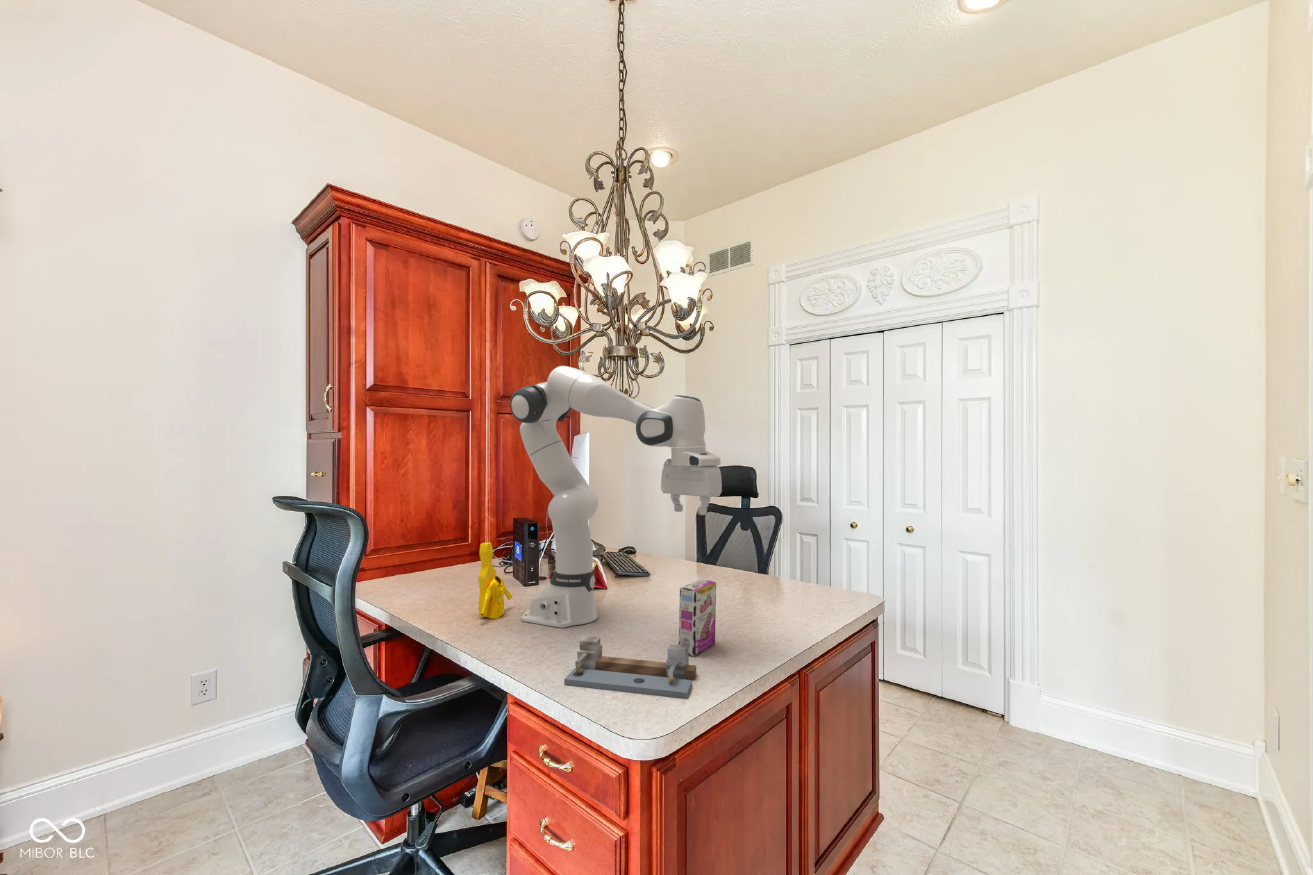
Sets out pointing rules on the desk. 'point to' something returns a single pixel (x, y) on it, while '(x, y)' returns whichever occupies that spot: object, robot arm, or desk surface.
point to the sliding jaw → (677, 661)
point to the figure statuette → (490, 586)
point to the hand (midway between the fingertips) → (690, 513)
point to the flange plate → (629, 683)
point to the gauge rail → (619, 661)
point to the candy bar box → (697, 616)
